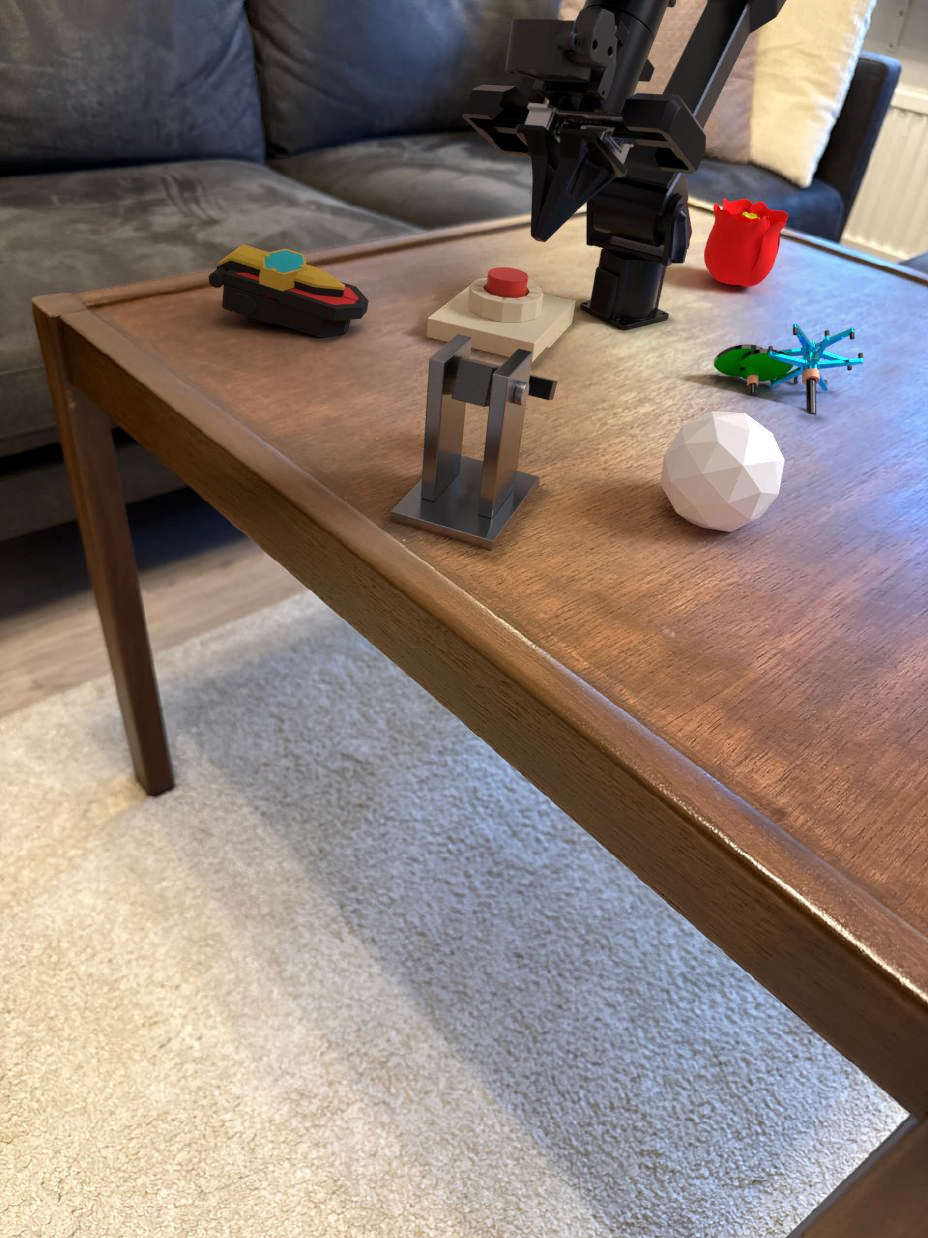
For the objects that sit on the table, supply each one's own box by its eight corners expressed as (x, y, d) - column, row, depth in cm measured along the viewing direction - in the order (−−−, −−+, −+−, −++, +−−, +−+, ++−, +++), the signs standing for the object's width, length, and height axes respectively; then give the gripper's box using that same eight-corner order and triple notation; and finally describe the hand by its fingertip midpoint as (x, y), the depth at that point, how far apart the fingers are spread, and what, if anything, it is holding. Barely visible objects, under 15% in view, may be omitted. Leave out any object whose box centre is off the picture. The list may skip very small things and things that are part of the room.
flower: (778, 284, 105) (800, 208, 100) (755, 302, 99) (777, 223, 94) (711, 266, 108) (729, 192, 103) (686, 283, 102) (703, 205, 97)
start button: (494, 283, 87) (496, 263, 86) (531, 291, 86) (533, 272, 85) (480, 295, 84) (481, 275, 83) (517, 303, 84) (520, 283, 82)
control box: (475, 300, 93) (479, 259, 91) (572, 323, 91) (578, 281, 88) (425, 341, 84) (428, 297, 82) (531, 367, 82) (537, 322, 79)
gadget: (348, 360, 83) (358, 299, 79) (204, 314, 83) (208, 252, 79) (368, 333, 88) (379, 275, 84) (232, 290, 88) (237, 230, 84)
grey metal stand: (445, 465, 67) (457, 317, 61) (537, 491, 66) (560, 342, 59) (390, 526, 61) (396, 367, 54) (491, 557, 59) (510, 397, 52)
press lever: (485, 390, 68) (492, 356, 67) (551, 407, 66) (559, 373, 66) (429, 392, 57) (437, 352, 57) (506, 413, 56) (515, 372, 55)
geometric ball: (699, 570, 65) (690, 519, 58) (649, 479, 68) (634, 421, 61) (804, 520, 64) (807, 462, 57) (748, 430, 67) (744, 365, 60)
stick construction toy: (859, 363, 83) (865, 309, 76) (861, 435, 80) (868, 385, 73) (717, 375, 86) (710, 324, 79) (715, 444, 84) (708, 398, 77)
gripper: (458, -40, 68) (383, 174, 70) (684, -50, 57) (587, 202, 59) (538, 53, 77) (469, 240, 79) (745, 58, 66) (660, 275, 68)
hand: (537, 239), depth 71 cm, fingers closed
